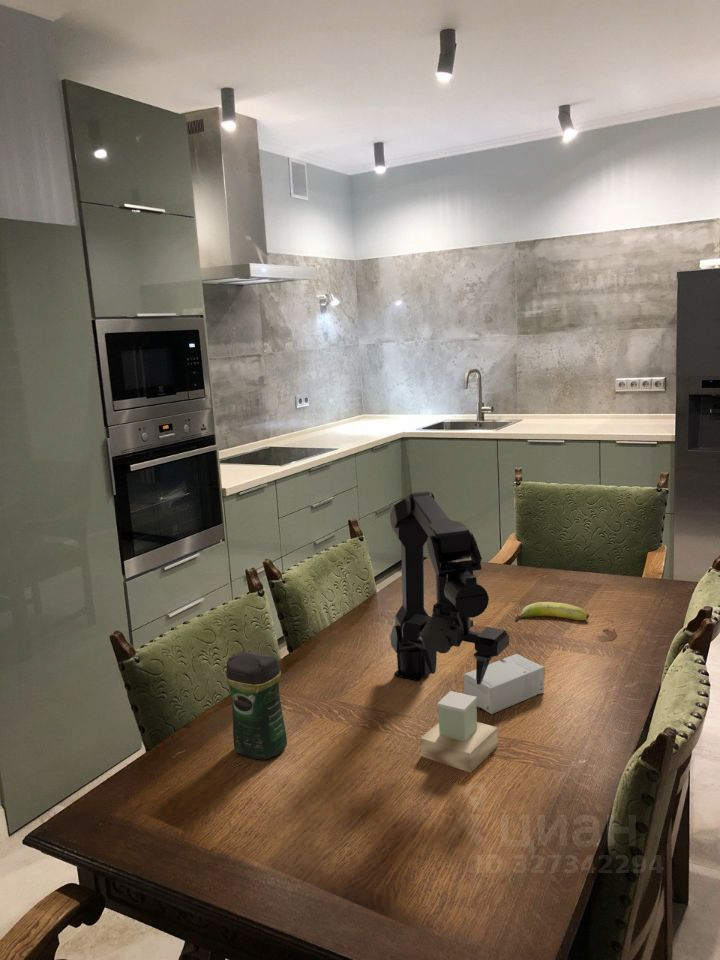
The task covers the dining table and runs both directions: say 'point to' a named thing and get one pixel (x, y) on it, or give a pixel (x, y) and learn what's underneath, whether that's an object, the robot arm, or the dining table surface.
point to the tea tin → (457, 716)
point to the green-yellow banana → (562, 615)
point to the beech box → (460, 747)
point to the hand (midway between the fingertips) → (455, 678)
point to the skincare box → (506, 683)
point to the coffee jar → (256, 705)
